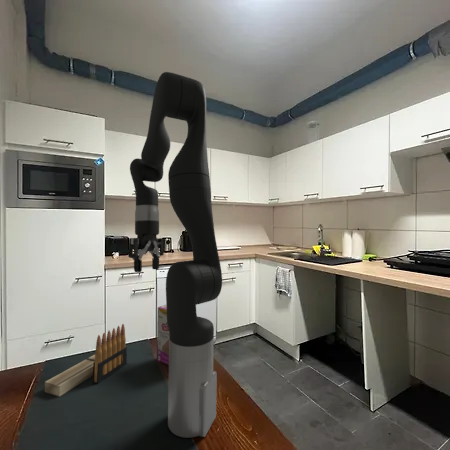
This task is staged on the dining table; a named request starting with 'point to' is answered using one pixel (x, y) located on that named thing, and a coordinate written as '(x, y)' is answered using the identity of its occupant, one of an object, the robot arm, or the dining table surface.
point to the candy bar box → (162, 336)
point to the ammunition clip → (109, 354)
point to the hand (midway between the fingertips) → (147, 270)
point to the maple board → (70, 377)
